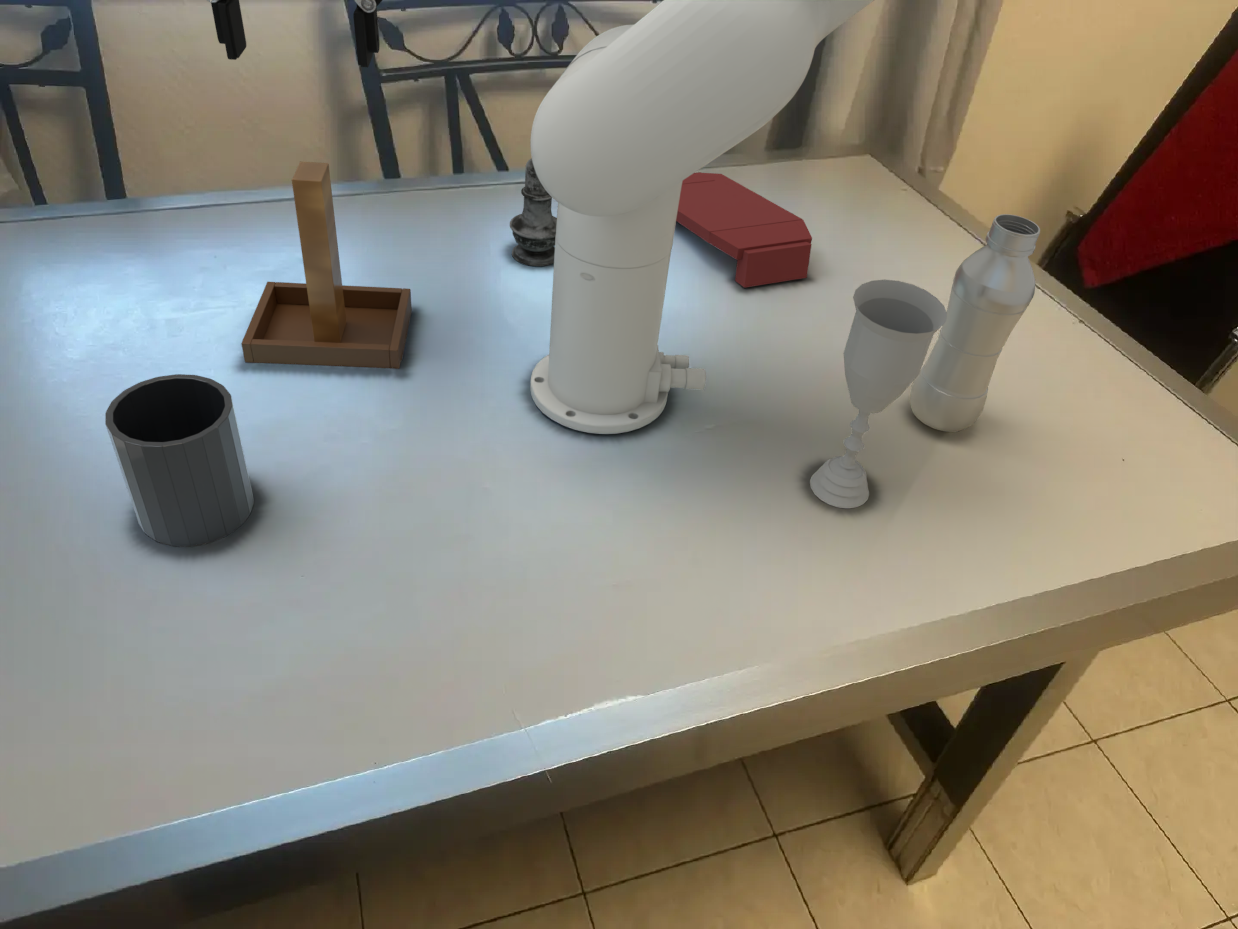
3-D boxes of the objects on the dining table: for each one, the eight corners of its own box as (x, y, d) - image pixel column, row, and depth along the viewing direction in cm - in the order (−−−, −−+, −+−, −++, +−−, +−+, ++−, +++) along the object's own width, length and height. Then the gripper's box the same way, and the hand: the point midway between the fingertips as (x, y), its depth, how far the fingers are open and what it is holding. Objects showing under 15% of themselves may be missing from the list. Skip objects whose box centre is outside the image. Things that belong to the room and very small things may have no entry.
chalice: (879, 525, 78) (950, 341, 66) (797, 508, 78) (852, 323, 67) (879, 468, 83) (944, 289, 71) (802, 452, 84) (853, 272, 72)
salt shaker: (572, 253, 107) (579, 149, 99) (541, 273, 103) (546, 167, 95) (529, 236, 109) (533, 133, 101) (498, 255, 105) (499, 149, 97)
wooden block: (346, 322, 91) (328, 162, 81) (340, 343, 89) (321, 181, 78) (320, 320, 91) (299, 160, 81) (314, 342, 89) (291, 179, 78)
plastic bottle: (925, 389, 93) (998, 198, 80) (987, 423, 90) (1073, 230, 77) (889, 414, 89) (959, 218, 76) (952, 451, 86) (1037, 253, 73)
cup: (264, 479, 75) (244, 376, 69) (240, 553, 69) (215, 448, 63) (159, 476, 74) (127, 371, 68) (125, 550, 68) (87, 444, 62)
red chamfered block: (630, 217, 122) (728, 290, 103) (632, 179, 119) (732, 246, 101) (713, 207, 127) (821, 275, 108) (716, 170, 124) (828, 232, 105)
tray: (411, 310, 95) (410, 288, 93) (399, 373, 87) (398, 350, 85) (271, 304, 94) (267, 281, 92) (245, 367, 86) (240, 343, 84)
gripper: (406, -209, 66) (420, 48, 77) (145, -231, 64) (199, 35, 75) (393, -194, 60) (411, 81, 71) (107, -218, 59) (171, 67, 70)
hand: (302, 57), depth 73 cm, fingers open, 9 cm apart
